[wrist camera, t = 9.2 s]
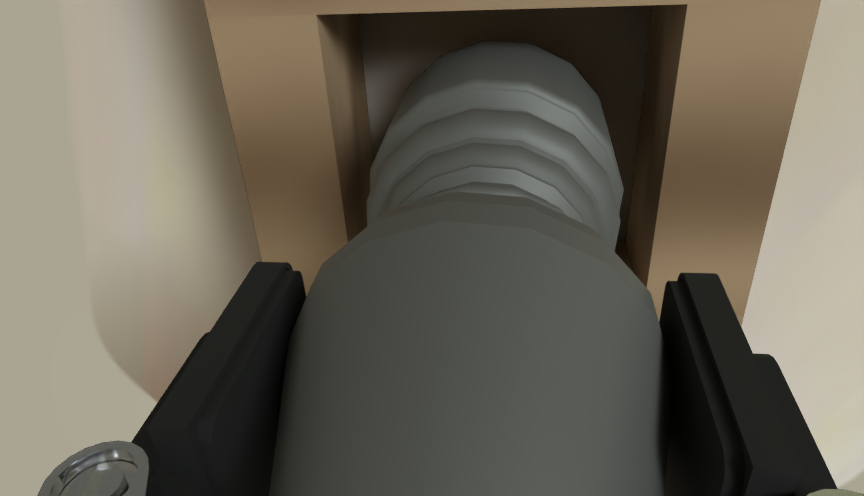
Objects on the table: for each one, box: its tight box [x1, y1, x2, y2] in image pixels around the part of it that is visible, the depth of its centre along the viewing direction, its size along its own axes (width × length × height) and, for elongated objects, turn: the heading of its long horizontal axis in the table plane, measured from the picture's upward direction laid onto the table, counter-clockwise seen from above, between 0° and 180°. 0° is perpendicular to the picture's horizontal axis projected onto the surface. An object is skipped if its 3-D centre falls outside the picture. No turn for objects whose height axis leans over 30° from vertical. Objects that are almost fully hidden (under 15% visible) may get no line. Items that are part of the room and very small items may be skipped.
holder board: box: [204, 0, 821, 326], centre depth 19 cm, size 20×14×4 cm
